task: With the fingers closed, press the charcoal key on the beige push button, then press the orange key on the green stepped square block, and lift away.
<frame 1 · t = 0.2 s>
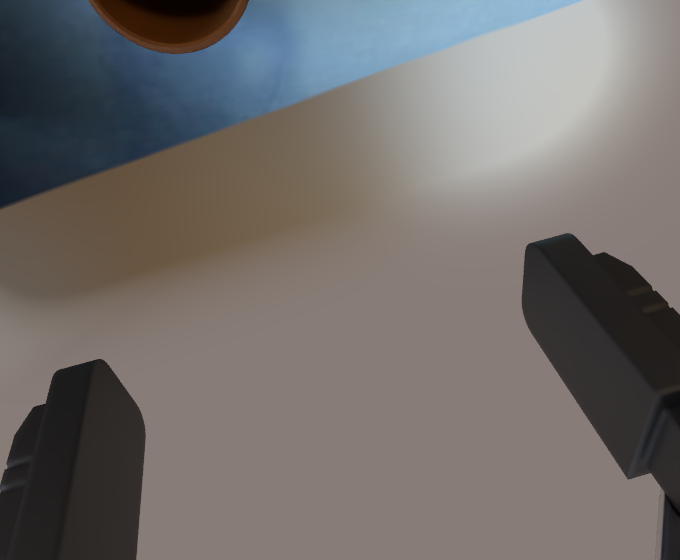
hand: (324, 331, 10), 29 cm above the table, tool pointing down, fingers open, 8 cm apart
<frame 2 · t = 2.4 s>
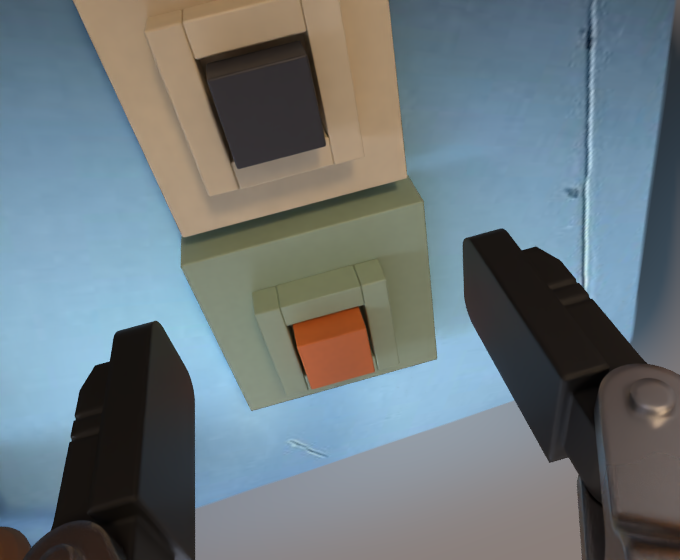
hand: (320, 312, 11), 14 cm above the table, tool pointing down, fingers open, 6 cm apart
key b: (334, 348, 26), point 4 cm above the table, slide at 0.1 cm
key a: (267, 106, 18), point 4 cm above the table, slide at 0.1 cm
green stepped square block: (318, 288, 29), on the table
beige push button: (257, 66, 21), on the table
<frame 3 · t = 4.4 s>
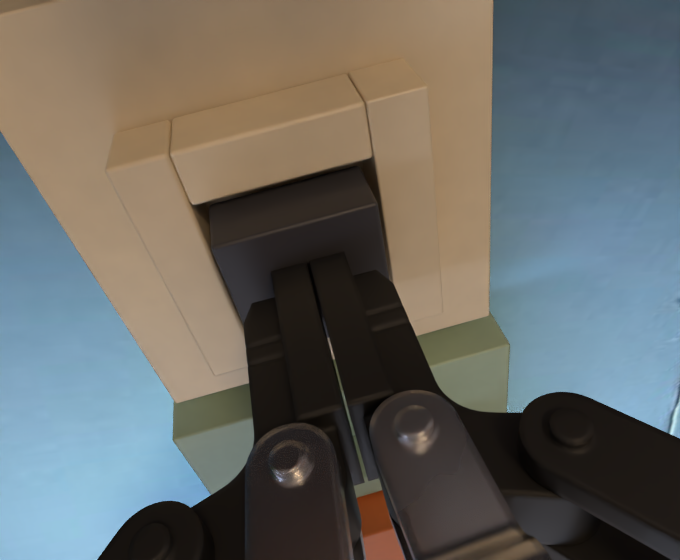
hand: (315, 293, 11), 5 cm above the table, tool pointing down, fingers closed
key b: (381, 529, 19), point 4 cm above the table, slide at 0.1 cm
key a: (306, 264, 12), point 4 cm above the table, slide at 0.1 cm, touching gripper
green stepped square block: (353, 425, 22), on the table
beige push button: (283, 176, 15), on the table
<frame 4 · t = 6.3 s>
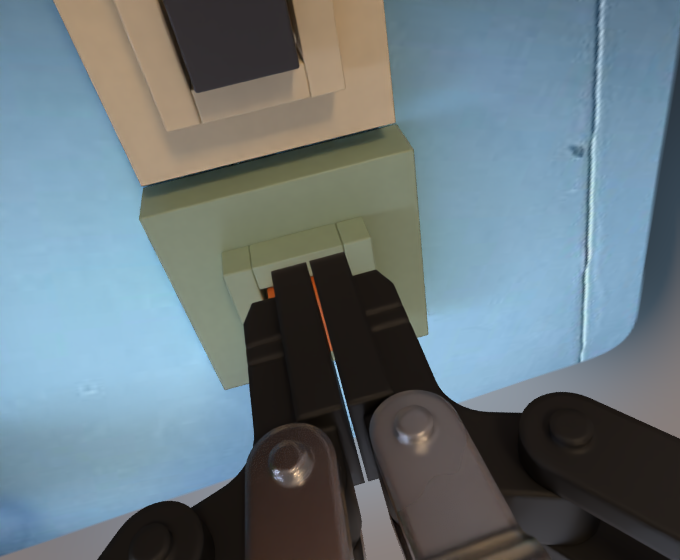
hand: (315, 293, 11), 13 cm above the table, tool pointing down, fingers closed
key b: (314, 316, 23), point 4 cm above the table, slide at 0.1 cm
key a: (231, 18, 16), point 4 cm above the table, slide at 0.1 cm
green stepped square block: (298, 254, 27), on the table
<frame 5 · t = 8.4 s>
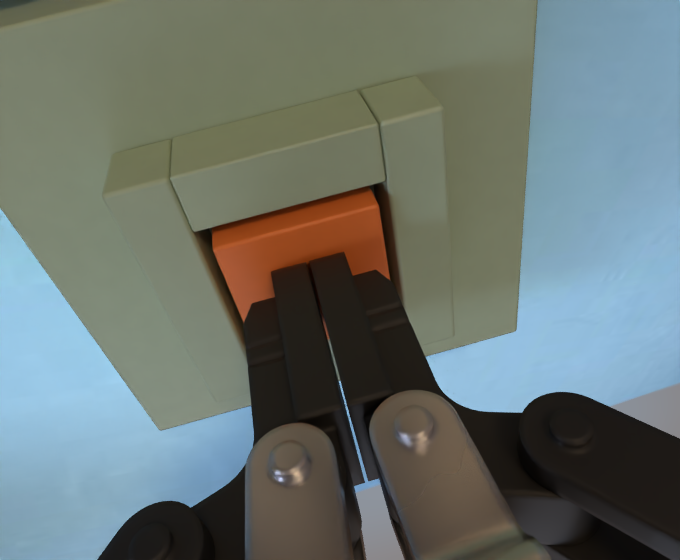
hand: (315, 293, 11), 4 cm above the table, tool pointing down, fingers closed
key b: (307, 266, 12), point 4 cm above the table, slide at -0.8 cm, touching gripper
green stepped square block: (286, 183, 14), on the table
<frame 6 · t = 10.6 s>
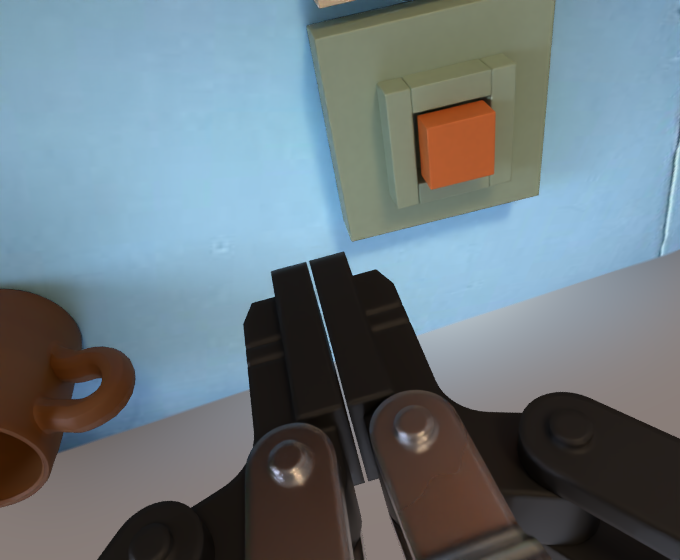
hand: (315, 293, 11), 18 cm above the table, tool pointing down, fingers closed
mug: (51, 318, 33), on the table
key b: (456, 145, 26), point 4 cm above the table, slide at 0.1 cm
green stepped square block: (427, 110, 29), on the table
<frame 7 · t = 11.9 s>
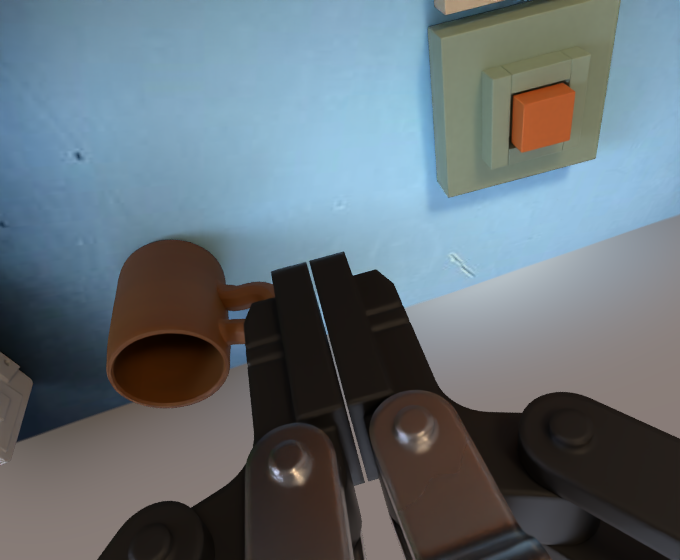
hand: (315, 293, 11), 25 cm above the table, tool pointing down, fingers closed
mug: (201, 265, 41), on the table
key b: (541, 118, 34), point 4 cm above the table, slide at 0.1 cm
green stepped square block: (510, 91, 37), on the table
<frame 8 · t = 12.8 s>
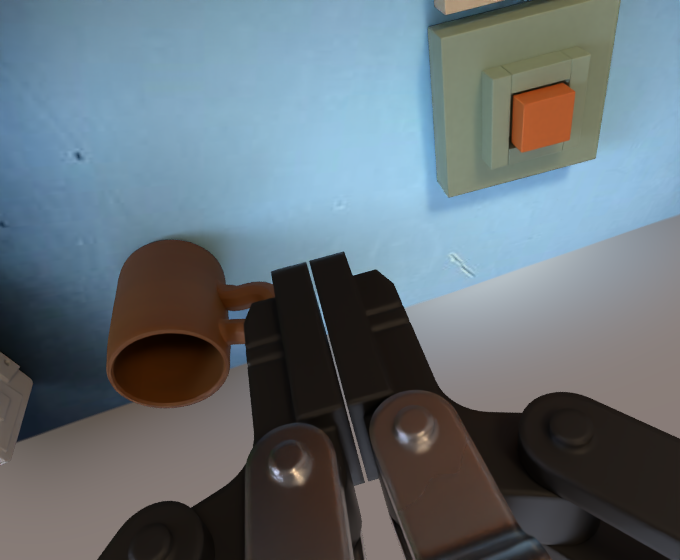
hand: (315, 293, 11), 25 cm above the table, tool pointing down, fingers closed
mug: (201, 265, 41), on the table
key b: (541, 118, 34), point 4 cm above the table, slide at 0.1 cm
green stepped square block: (510, 91, 37), on the table
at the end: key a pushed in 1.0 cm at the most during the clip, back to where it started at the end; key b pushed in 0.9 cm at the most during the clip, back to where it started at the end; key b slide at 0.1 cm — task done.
